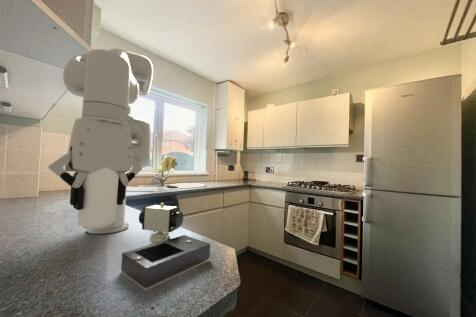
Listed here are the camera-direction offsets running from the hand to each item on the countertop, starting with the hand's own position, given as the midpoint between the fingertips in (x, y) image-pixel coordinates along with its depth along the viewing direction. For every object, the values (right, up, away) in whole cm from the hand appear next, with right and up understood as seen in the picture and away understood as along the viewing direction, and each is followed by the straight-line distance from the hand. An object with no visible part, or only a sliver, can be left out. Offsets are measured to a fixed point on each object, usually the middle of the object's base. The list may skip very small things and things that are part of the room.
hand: (99, 205), depth 39 cm
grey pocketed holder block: (+12, -15, +5) cm, 20 cm away
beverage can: (0, -4, 0) cm, 4 cm away
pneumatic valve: (+5, -16, +18) cm, 25 cm away
